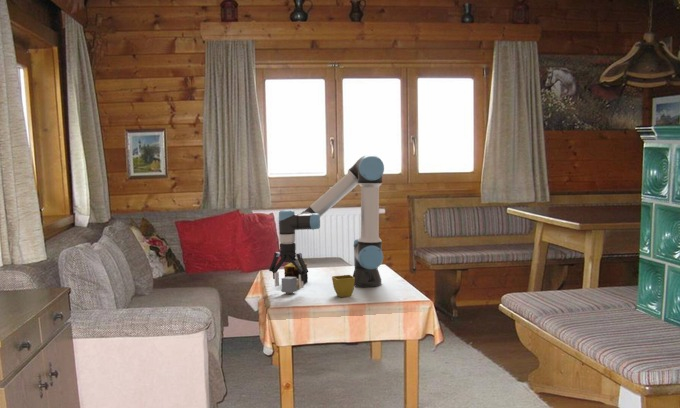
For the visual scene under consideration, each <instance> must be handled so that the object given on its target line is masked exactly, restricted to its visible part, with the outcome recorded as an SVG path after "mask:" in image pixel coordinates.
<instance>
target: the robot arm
mask: <svg viewBox="0 0 680 408" xmlns="http://www.w3.org/2000/svg"><path fill="white" fill-rule="evenodd" d="M384 172H385V165H384V163H383V161H382V159H381V158H380V157H378V156H377V155H375V154H368V155H363V156H361V157H359V159H358V160H356V161H355V163H354V164H353V165H352V166H350V168H349V169H347V173H346V174H345V175H344V176H343V177H342V178H340V179H339V180H338V181H337V182H336V183H334V185H332V186H331V187H330V188H329V189H327V191H325V193H323V194H322V195H321V196H320V197H319V198H318V199H316V200H315V201H314V202H312V204H310V206H308V207H307V208H306V209H305V210H303V211H302V212H300V213H295V210H293V209H284V210H283V209H282V210H279V213H278V231H279V233H278V234H279V236H278V237H279V251H275V252H274V254H273V259H272V262H271V264H270V267H269V269H268V271H269V272H272V279H273V280H274V287H275V288H276V287H279V286H280V278H279V277H280V275H279V271H278V270H280V268H281V266H282V265H283V264H284V263H288V264H289V263H292V264H293V265H294V266H295V267H296V269H297V270H298V271H299V273H300V274H299V288H300V289H302V288H304V287H305V285H303V281H305V273H307V274H308V273H309V269H308V266H307V267H306V265H305V263H306V262H305V261H304V259H303V254H302V253H301V252H299V253H297V252H296V250H297V248H296V247H297V246H296V231H299V230H301V231H302V230H303V231H304V230H312V231H313V230H319V229H320V228H321V217H322V216H323V215H325V214H326V213H327V212H328V211H329V210H331V209H332V208H333V206H335V205H336V204H338V203H339V201H341V200H342V199H343V198H344V197H346V196H347V195H348V194H349V193H350V192H351V191H353V189H355V188H356V187H357V186H360V202H361V203H360V237H359V239H358V238H357V239H354V241H353V255H354V256H353V259H354V260H353V261H354V269H353V274H352V276H353V277H354V278H355V283H354V287H358V288H371V287H372V288H375V287H379V286H381V285H382V278H381V274H380V272H379V268H378V267H380V266H381V265H382V264H383V260H384V252H383V251H382V250H383V241H382V239H381V238H380V235H379V234H380V229H379V228H380V227H379V226H380V222H379V221H380V212H379V211H380V187H381V186H382V185H383V174H384ZM279 258H280V259H279ZM299 263H300V265H299Z"/></svg>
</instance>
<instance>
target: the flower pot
mask: <svg viewBox="0 0 680 408" xmlns="http://www.w3.org/2000/svg"><path fill="white" fill-rule="evenodd" d="M331 279H332V287H333V290H334V291H335V293H336V296H338V297H340V298H344V297H345V298H347V297H351V296H352V294H353V292H354V290H355V286H354V283H355V278H354V277H353V275H351V274H344V275H343V274H342V275H331Z"/></svg>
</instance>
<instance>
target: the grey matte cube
mask: <svg viewBox="0 0 680 408" xmlns="http://www.w3.org/2000/svg"><path fill="white" fill-rule="evenodd" d="M297 291H298V290H297V277H285V276H284V277H282V278H281V293H285V294H286V293H295V292H297Z"/></svg>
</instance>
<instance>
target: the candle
mask: <svg viewBox="0 0 680 408" xmlns="http://www.w3.org/2000/svg"><path fill="white" fill-rule="evenodd" d="M298 263H299V262H298ZM304 263H305V265H306V267H307V268H308V263H307V262H304ZM299 265H300V263H299ZM283 269H284V273H283V274H284V277H297V279H299V274H300V273H299V271H298V270H297V269H296V267H295V266H294V265H293V264H292V263H291V262H290V263H289V262H288V263H287V264H286V265H284V266H283ZM308 278H309V276H308V273H305V281H303V285H304V286H305V285H306V284H307V283H308V280H309V279H308Z"/></svg>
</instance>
